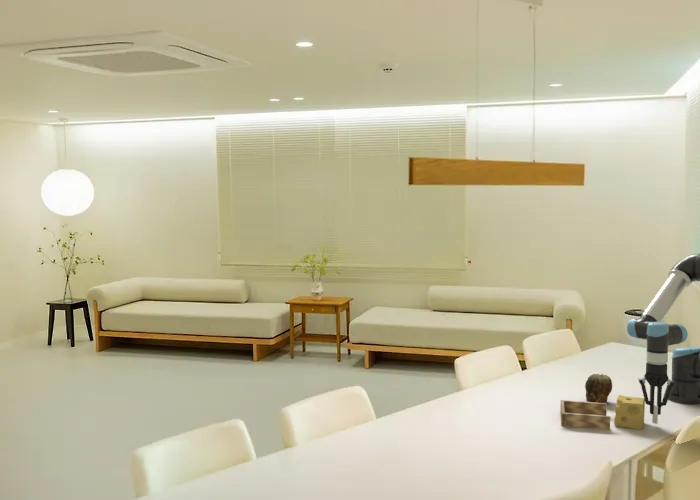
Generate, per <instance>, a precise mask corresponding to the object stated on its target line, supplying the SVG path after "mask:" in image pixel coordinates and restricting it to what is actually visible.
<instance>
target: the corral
mask: <svg viewBox="0 0 700 500" xmlns="http://www.w3.org/2000/svg"><path fill="white" fill-rule="evenodd" d="M607 406H608V403H607V402H606V403H595V402H589V401H579V400H567V399H565V400H564V399H560V407H559V408H560V411H559V412H560V423H561V424H560V425H561V427H570V428H583V429H595V430H605V431H607V430H608V431H610V430H611V416H610V415H607Z"/></svg>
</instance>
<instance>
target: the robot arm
mask: <svg viewBox="0 0 700 500" xmlns="http://www.w3.org/2000/svg"><path fill="white" fill-rule="evenodd" d="M693 282H700V253H692V254H690V255H687V256H686V257H683V258H682V259H680V260H679V261H678V262H676V263H675V264H674V265H673V266H672V267H671V269H670V270H669V271H668V273H667V278H666V280H665V281H664V283H663V284H662V285H661V287H660V288H659V290H658V291H657V292H656V294H655V295H654V297H653V298H652V299H651V301H650V302H649V304H648V305H647V307H646V308H645V309H644V311H643V313H642V314H641V315H640V316H639V318H632V319H629V321H628V322H627V326H626V331H627V334H628V335H629V336H630V337H633V338H635V339H637V340H638V339H641V340H646V358H645V359H646V360H645V361H646V363H645V374H644V376H643V377H641V378H638V383H639V384H640V387H641V390H642V395H643V398H644V400H645V405H648V406H649V413H650V415H652V418H651V419H652V423H653V424H656V425H657V424H658V423H659V422H658V417H659V415H661V413H662V407H663V406H664V407H665V406H667V403H668V400H669V401H672V402H675V403H679V404H687V405H699V404H700V346H677V347H676V348H673V350H672V355H671V379H669V375H668V364H667V363H668V359H669V358H668V353H669V346H672V345H673V346H674V345H678V344H681V343H684V342H686V340H687V339H688V330H687V328H686V327H685V326H684V325H682V324H679V323H674V324H673V323H672V324H669V323H667V322H662V321H663V320H664V319H665V316H666V315H667V313H668V312H669V311H670V310H671V308H672V307H673V305H674V304H675V302H676V301H677V300H678V298H679V297H680V295H681V293H682V292H683V291H684V290H685V288H688V287H689V286H690V285H691V284H692V283H693ZM646 383H648V385H649V396H648V393H647V392H648V391H647V387H646V385H645V384H646ZM665 384H666V388H665V390H664V394H663V395H662V390H663V387H664V385H665ZM656 388H657V390H656V391H657V392H656V404H655V389H656ZM662 396H663V397H662ZM648 397H649V398H648Z"/></svg>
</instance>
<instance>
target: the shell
mask: <svg viewBox="0 0 700 500" xmlns="http://www.w3.org/2000/svg"><path fill="white" fill-rule="evenodd" d="M584 388H585V400H586V402H595V403H606V404H607V402H608V398H609V396H610V394H611V393H612V391H613V380H612V379H611V377H610V376H609V375H607V374H603V373H602V374H599V373H593V374H591V375H589V376H588V377H587V380H586V381H585V385H584Z"/></svg>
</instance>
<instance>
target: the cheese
mask: <svg viewBox="0 0 700 500" xmlns="http://www.w3.org/2000/svg"><path fill="white" fill-rule="evenodd" d="M645 405H646V403H645V400H644V397H636V396H626V395H618V396H617V398H616V405H615V411H614V413H615V415H614V418H613V419H614V421H613V424H614V426H615V427H623V428H630V429H635V430H642V429H643V426H644V423H645Z"/></svg>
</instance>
